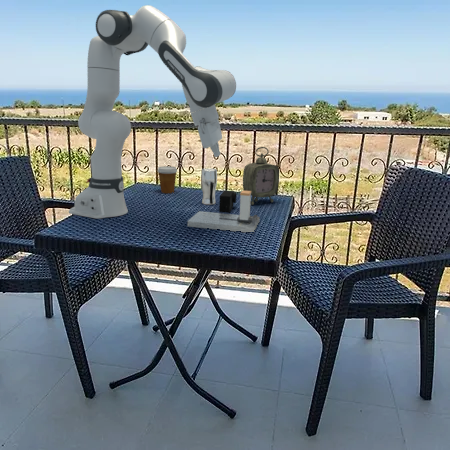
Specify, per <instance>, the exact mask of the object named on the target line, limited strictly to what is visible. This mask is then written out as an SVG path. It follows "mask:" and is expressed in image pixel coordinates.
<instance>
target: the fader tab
mask: <svg viewBox="0 0 450 450" xmlns="http://www.w3.org/2000/svg"><path fill="white" fill-rule="evenodd" d="M239 195H240V200H239V201H240V202H239V215H240V216H239V217H238V218H237V221H246V222H251V220H252V218H251V217H250V216H251V201H252V200H251V199H252V195H251V191H244V190H242V191H241V192H240V193H239Z"/></svg>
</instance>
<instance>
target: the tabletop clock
mask: <svg viewBox="0 0 450 450" xmlns="http://www.w3.org/2000/svg"><path fill="white" fill-rule="evenodd" d="M260 149H265V150H266V152H267V153H265V154H263V153H260V154H258V153H257V152H258V150H260ZM254 152H255V153H254V154H255V155H256V156H257V158H256V160H255V162H250V163H247V164H246V165H245V166H244V168H243V173H242V191H251V199H252V200H251V202H250V206H253V205H254V204H255V202H258V200H259V198H267V197H268V198H269V201H270V203H273V202H274V199H273V198H271V197H273V196H274V195H275V196H276V194H277V192H278V189H279V183H280V170H279V166H278V165H276V164H272V163H268V161H267V159H266V158H265V157H266V156H268V154H269V148H267V147H266V146H260V147H257V148H256V149H255V151H254Z"/></svg>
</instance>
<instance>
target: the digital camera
mask: <svg viewBox="0 0 450 450" xmlns="http://www.w3.org/2000/svg"><path fill="white" fill-rule="evenodd" d="M236 203H237V192H235V191H234V190H223V192H221V194H220V195H219V207H218V208H219V212H218V213H225V214H231V213H230V212H231V211H232V209H233V208H234V204H236Z"/></svg>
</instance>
